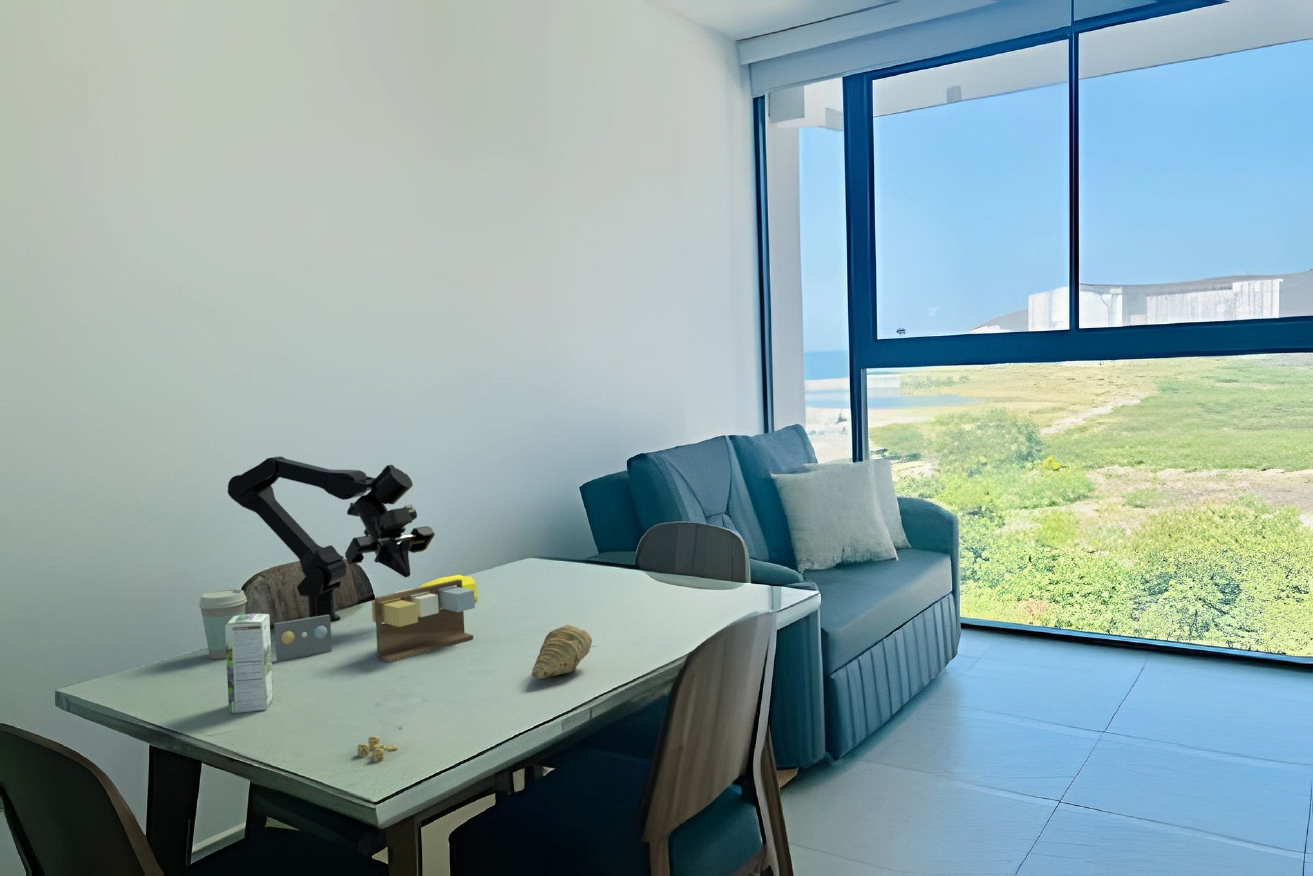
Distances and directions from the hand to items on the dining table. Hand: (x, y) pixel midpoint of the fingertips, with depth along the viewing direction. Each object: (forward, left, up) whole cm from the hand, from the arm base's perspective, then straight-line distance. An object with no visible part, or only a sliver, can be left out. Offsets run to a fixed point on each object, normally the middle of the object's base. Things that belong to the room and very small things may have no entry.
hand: (408, 575), depth 200 cm
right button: (+14, +4, -5) cm, 16 cm away
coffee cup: (-6, -34, -12) cm, 37 cm away
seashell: (+48, +10, -12) cm, 50 cm away
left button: (+18, -9, -5) cm, 20 cm away
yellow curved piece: (-15, +14, -12) cm, 23 cm away
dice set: (+62, -26, -12) cm, 69 cm away
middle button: (+13, -3, -5) cm, 14 cm away
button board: (+16, -2, -11) cm, 20 cm away
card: (+5, -22, -11) cm, 26 cm away
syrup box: (+30, -36, -12) cm, 49 cm away
